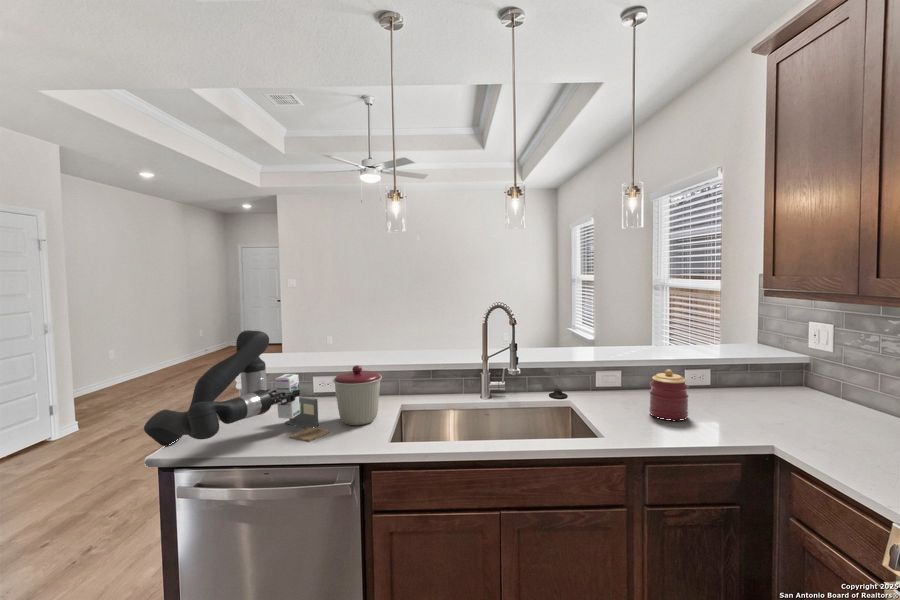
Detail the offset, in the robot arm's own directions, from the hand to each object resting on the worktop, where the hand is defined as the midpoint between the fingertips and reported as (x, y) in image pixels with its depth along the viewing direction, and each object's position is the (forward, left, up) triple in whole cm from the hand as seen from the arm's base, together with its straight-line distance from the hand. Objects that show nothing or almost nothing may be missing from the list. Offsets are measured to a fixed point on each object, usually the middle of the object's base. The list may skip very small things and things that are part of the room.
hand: (291, 391), depth 155 cm
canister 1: (+17, +16, -14) cm, 27 cm away
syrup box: (0, -1, -9) cm, 9 cm away
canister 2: (+122, +65, -14) cm, 139 cm away
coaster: (+10, -2, -14) cm, 17 cm away
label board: (0, +4, -14) cm, 14 cm away
